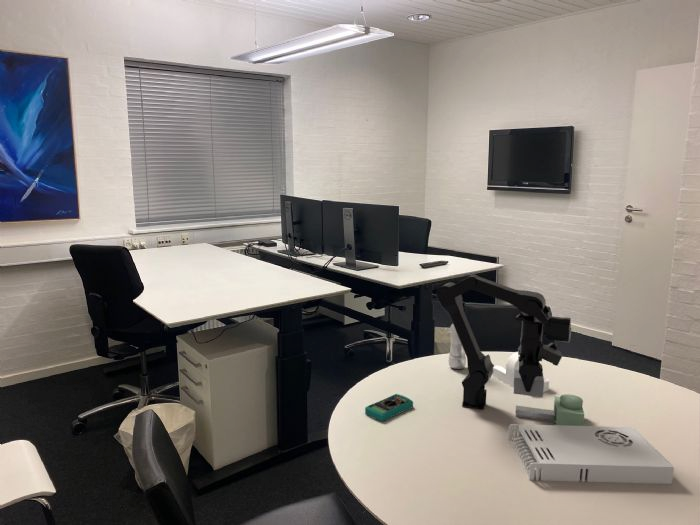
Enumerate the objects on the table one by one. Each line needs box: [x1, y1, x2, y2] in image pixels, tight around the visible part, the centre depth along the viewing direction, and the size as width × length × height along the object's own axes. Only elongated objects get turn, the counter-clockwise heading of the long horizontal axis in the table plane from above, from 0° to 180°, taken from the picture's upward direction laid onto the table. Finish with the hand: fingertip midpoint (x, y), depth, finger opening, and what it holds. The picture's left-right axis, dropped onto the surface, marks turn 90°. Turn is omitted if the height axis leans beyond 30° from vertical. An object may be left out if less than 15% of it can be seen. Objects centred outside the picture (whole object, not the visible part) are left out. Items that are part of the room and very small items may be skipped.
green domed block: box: [515, 393, 585, 426], centre depth 150 cm, size 18×10×7 cm, turn 73°
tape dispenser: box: [491, 351, 550, 393], centre depth 176 cm, size 10×18×11 cm, turn 25°
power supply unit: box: [507, 423, 675, 485], centre depth 129 cm, size 19×33×5 cm, turn 88°
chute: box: [513, 370, 545, 398], centre depth 151 cm, size 8×6×5 cm
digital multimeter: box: [364, 393, 414, 422], centre depth 155 cm, size 7×15×3 cm, turn 134°
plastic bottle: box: [448, 323, 467, 370], centre depth 188 cm, size 6×7×20 cm
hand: (527, 387), depth 151 cm, fingers closed on chute, 6 cm apart
